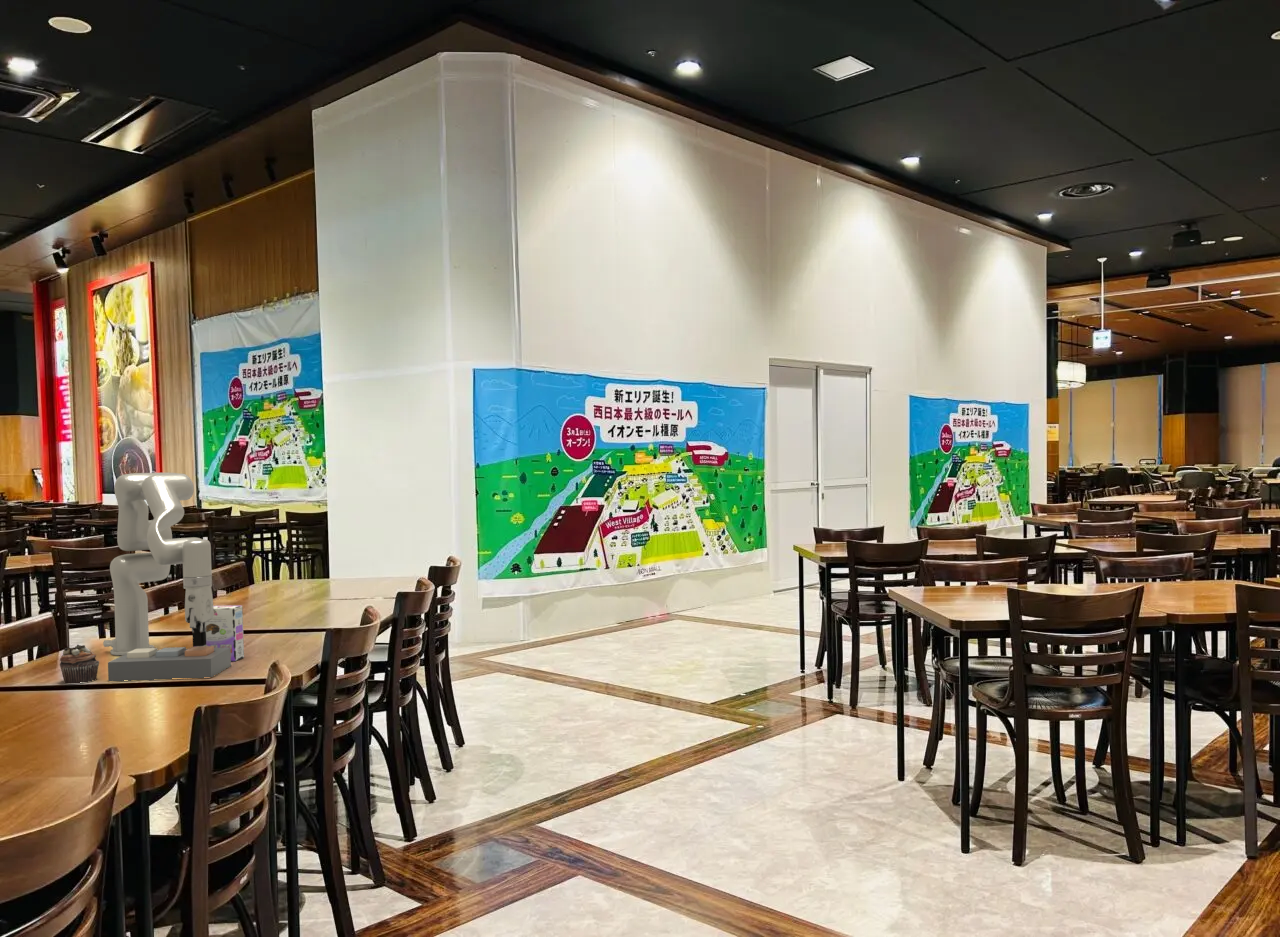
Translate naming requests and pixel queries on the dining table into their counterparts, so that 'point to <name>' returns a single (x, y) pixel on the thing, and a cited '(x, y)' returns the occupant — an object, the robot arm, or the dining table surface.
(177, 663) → the keypad
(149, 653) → the cream key
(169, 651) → the slate key
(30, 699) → the dining table surface
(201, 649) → the terracotta key
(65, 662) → the cupcake
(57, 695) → the dining table surface
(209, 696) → the dining table surface
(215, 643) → the candy box
